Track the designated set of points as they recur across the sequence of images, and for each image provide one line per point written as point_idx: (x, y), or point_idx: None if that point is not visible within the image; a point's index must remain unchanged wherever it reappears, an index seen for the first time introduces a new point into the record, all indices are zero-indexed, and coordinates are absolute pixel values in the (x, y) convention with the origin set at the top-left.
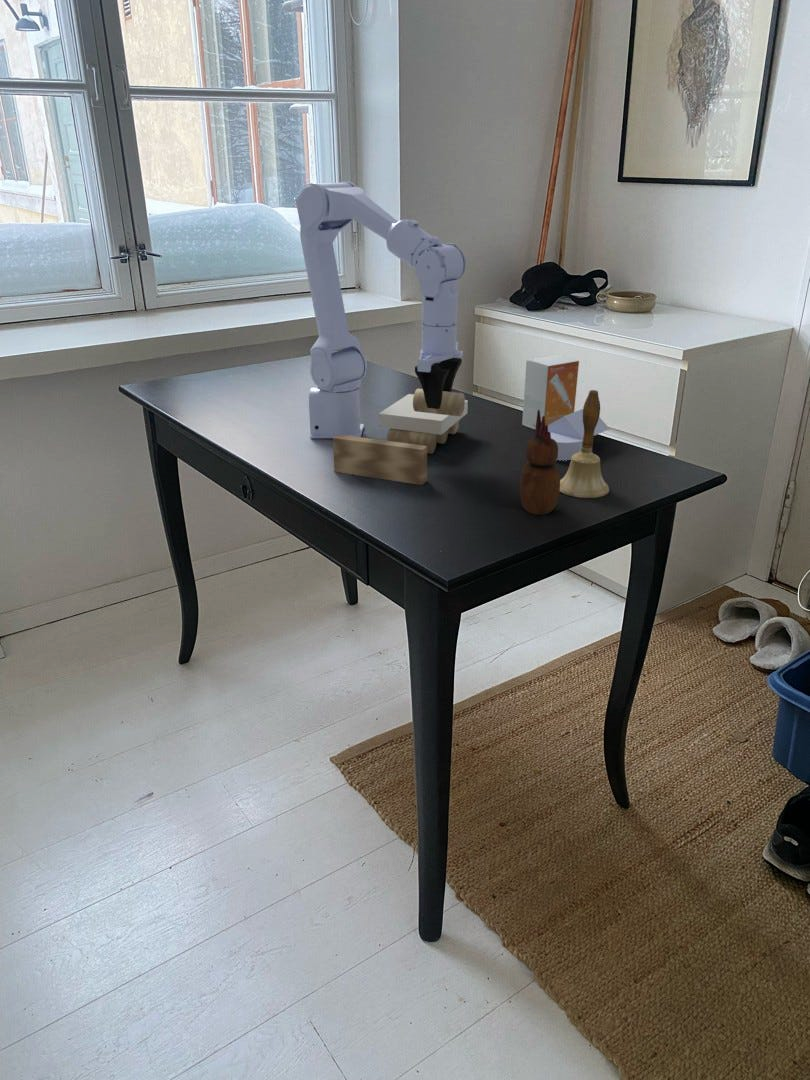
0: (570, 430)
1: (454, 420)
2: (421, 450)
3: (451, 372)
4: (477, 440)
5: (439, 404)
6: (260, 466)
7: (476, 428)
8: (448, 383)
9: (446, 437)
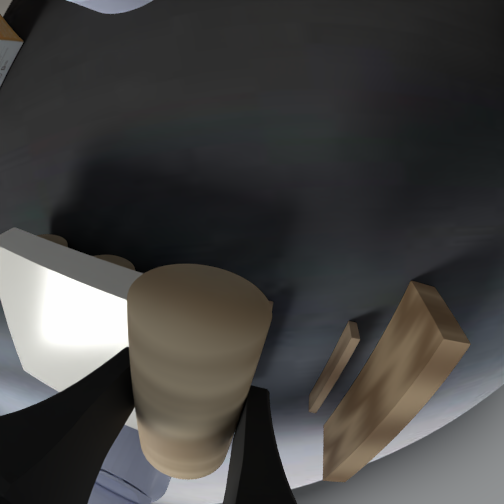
0: None
1: (84, 260)
2: (468, 345)
3: (57, 457)
4: (80, 175)
5: (268, 404)
6: (315, 480)
7: (21, 192)
8: (92, 415)
9: (101, 256)
